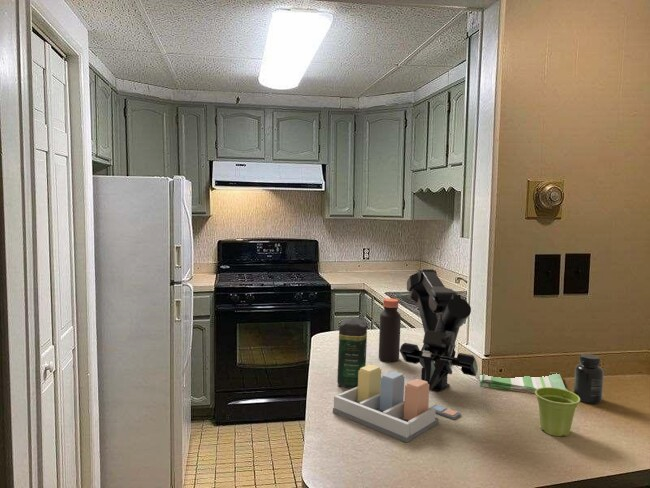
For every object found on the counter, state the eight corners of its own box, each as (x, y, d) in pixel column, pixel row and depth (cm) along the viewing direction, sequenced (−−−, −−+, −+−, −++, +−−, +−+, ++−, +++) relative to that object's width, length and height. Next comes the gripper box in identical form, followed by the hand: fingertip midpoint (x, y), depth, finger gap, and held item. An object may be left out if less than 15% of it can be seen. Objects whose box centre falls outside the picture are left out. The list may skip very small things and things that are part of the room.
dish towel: (569, 400, 134) (570, 390, 134) (479, 389, 141) (480, 379, 140) (558, 378, 151) (559, 369, 151) (478, 368, 158) (479, 360, 157)
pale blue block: (403, 407, 122) (404, 374, 121) (391, 414, 118) (392, 379, 118) (391, 403, 124) (392, 370, 124) (379, 409, 121) (380, 375, 120)
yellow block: (380, 399, 127) (381, 367, 126) (368, 405, 123) (369, 371, 122) (369, 395, 129) (370, 363, 128) (357, 401, 125) (358, 368, 125)
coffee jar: (363, 390, 136) (366, 324, 134) (335, 388, 137) (337, 322, 136) (366, 378, 146) (368, 316, 144) (339, 375, 147) (341, 314, 145)
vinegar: (402, 358, 164) (404, 299, 162) (393, 364, 159) (396, 302, 157) (383, 354, 168) (386, 297, 166) (374, 360, 162) (377, 300, 160)
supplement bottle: (600, 397, 135) (603, 354, 134) (602, 406, 129) (606, 362, 128) (572, 392, 138) (575, 351, 137) (573, 401, 132) (576, 357, 131)
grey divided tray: (438, 422, 117) (439, 406, 117) (406, 442, 107) (407, 424, 107) (366, 396, 132) (367, 382, 131) (332, 411, 122) (333, 396, 121)
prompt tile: (460, 415, 122) (460, 412, 122) (453, 419, 119) (453, 416, 119) (435, 406, 126) (435, 403, 126) (428, 410, 124) (428, 407, 124)
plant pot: (575, 444, 108) (578, 406, 107) (529, 433, 113) (531, 396, 112) (579, 428, 116) (582, 392, 115) (536, 418, 121) (538, 384, 120)
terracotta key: (427, 416, 117) (429, 381, 116) (416, 423, 114) (418, 387, 113) (415, 412, 120) (416, 377, 119) (403, 418, 116) (405, 383, 115)
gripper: (403, 311, 127) (383, 365, 119) (477, 322, 117) (460, 381, 109) (414, 335, 134) (396, 386, 126) (483, 347, 124) (469, 404, 116)
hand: (428, 389), depth 119 cm, fingers closed
